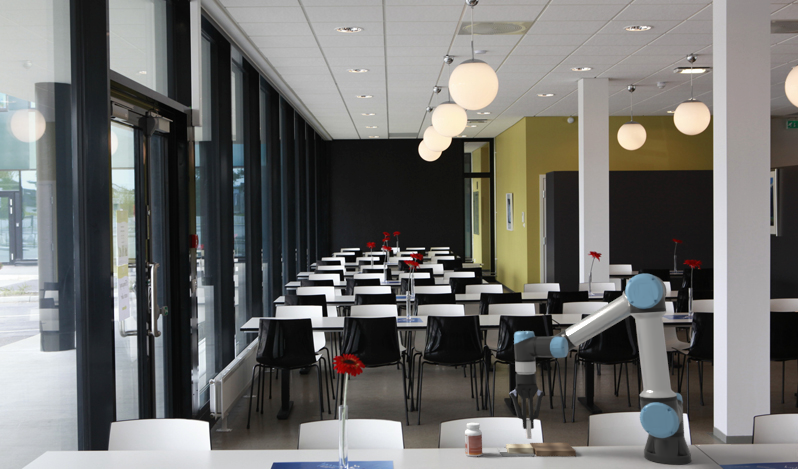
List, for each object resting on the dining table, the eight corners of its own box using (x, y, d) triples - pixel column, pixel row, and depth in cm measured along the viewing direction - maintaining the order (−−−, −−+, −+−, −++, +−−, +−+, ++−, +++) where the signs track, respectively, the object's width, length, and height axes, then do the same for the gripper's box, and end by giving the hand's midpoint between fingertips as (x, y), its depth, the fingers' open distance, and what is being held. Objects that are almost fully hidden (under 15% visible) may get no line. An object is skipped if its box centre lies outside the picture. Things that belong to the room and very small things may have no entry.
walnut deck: (567, 448, 230) (567, 442, 230) (575, 456, 218) (575, 450, 218) (530, 448, 230) (530, 442, 230) (536, 456, 218) (536, 450, 218)
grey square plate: (528, 448, 230) (528, 447, 230) (535, 456, 218) (535, 455, 218) (497, 448, 230) (497, 447, 230) (501, 456, 218) (501, 455, 218)
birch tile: (530, 449, 227) (530, 443, 227) (533, 453, 221) (533, 447, 221) (506, 449, 227) (505, 444, 227) (508, 453, 221) (508, 447, 221)
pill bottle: (485, 454, 221) (485, 423, 222) (475, 458, 217) (474, 426, 218) (472, 451, 225) (472, 421, 227) (461, 455, 221) (461, 423, 222)
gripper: (541, 371, 231) (544, 435, 228) (506, 372, 231) (509, 436, 228) (545, 373, 223) (548, 439, 221) (509, 374, 224) (512, 440, 221)
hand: (528, 437), depth 224 cm, fingers closed
